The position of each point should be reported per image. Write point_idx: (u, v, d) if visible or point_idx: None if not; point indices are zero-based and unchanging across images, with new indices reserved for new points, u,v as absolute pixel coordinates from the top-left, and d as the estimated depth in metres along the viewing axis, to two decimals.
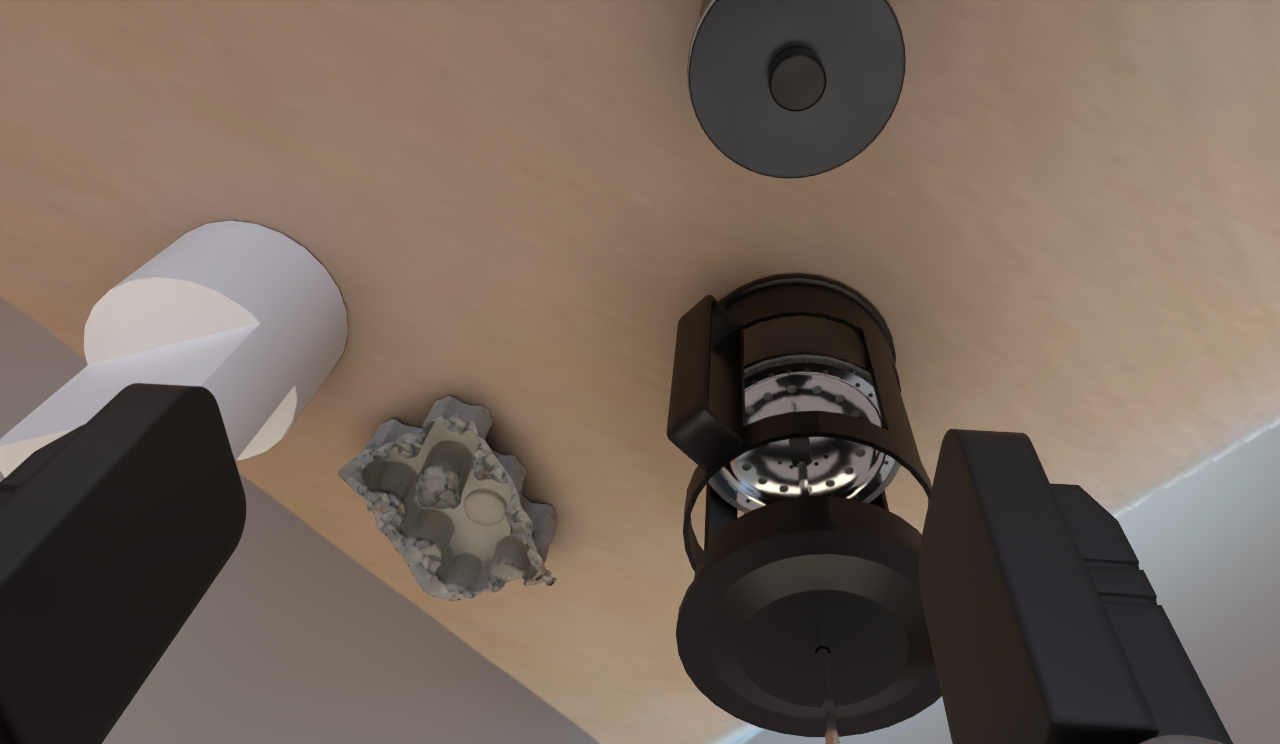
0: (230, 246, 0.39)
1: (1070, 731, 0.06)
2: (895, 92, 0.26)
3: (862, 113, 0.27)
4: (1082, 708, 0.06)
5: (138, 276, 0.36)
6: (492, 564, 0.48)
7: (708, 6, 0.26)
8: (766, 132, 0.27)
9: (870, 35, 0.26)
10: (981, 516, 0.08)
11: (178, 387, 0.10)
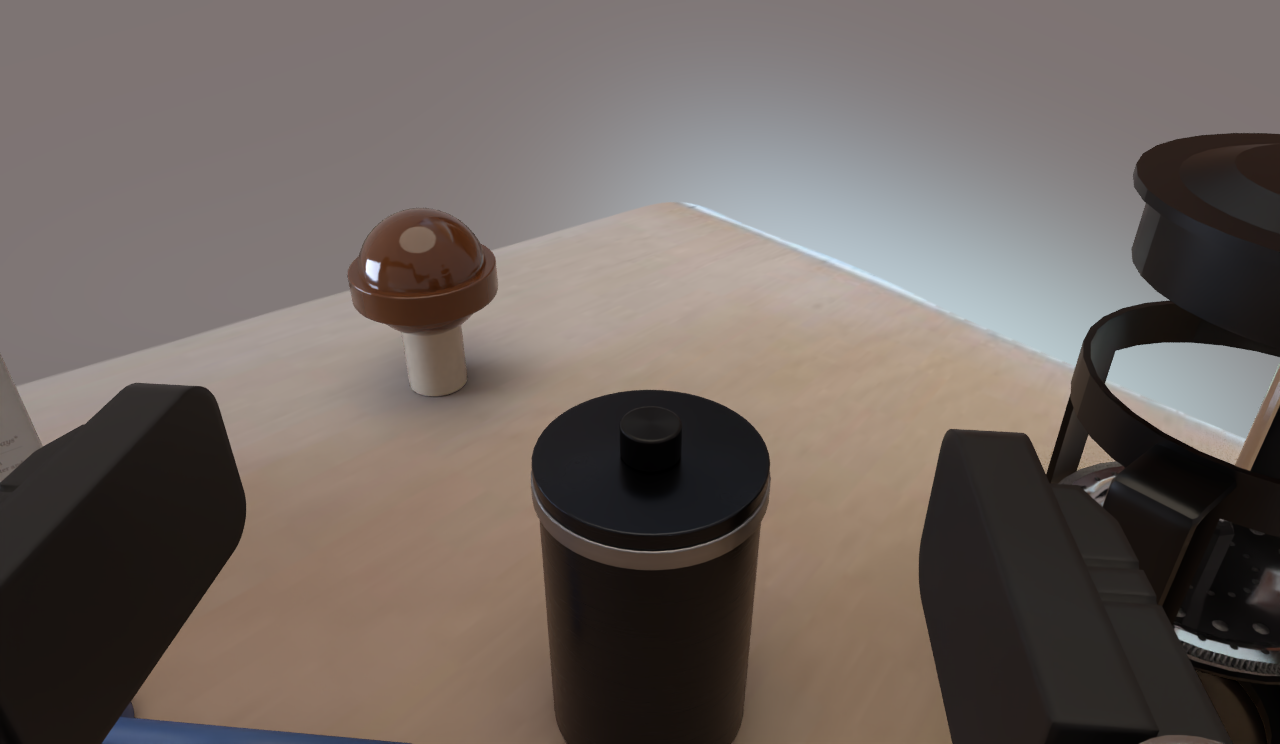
0: None
1: (1070, 731, 0.06)
2: (676, 393, 0.26)
3: (696, 412, 0.25)
4: (1082, 708, 0.06)
5: None
6: None
7: (566, 531, 0.22)
8: (713, 476, 0.23)
9: (618, 408, 0.26)
10: (982, 516, 0.08)
11: (178, 387, 0.10)
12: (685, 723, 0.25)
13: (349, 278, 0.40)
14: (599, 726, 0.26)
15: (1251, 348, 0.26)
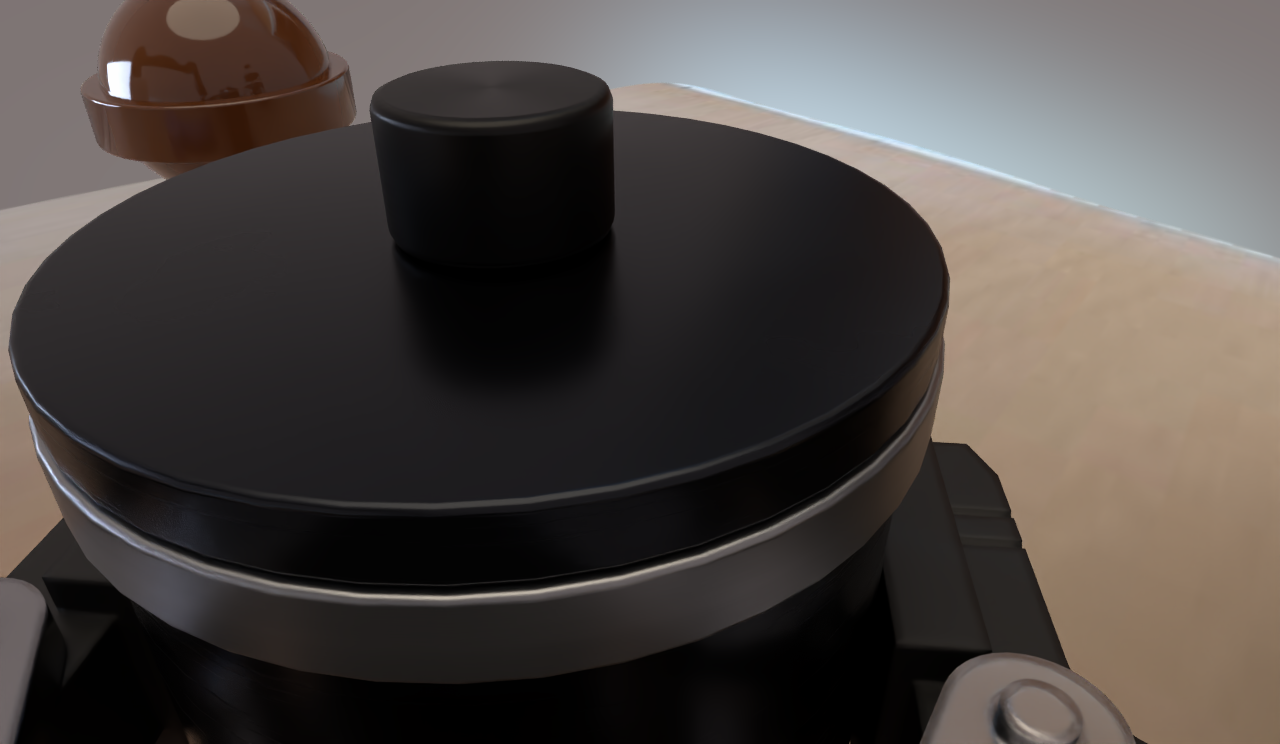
0: None
1: (913, 652, 0.07)
2: (620, 113, 0.09)
3: (675, 143, 0.08)
4: (925, 631, 0.07)
5: None
6: None
7: (72, 500, 0.05)
8: (733, 285, 0.06)
9: None
10: None
11: None
12: None
13: (82, 86, 0.23)
14: None
15: None
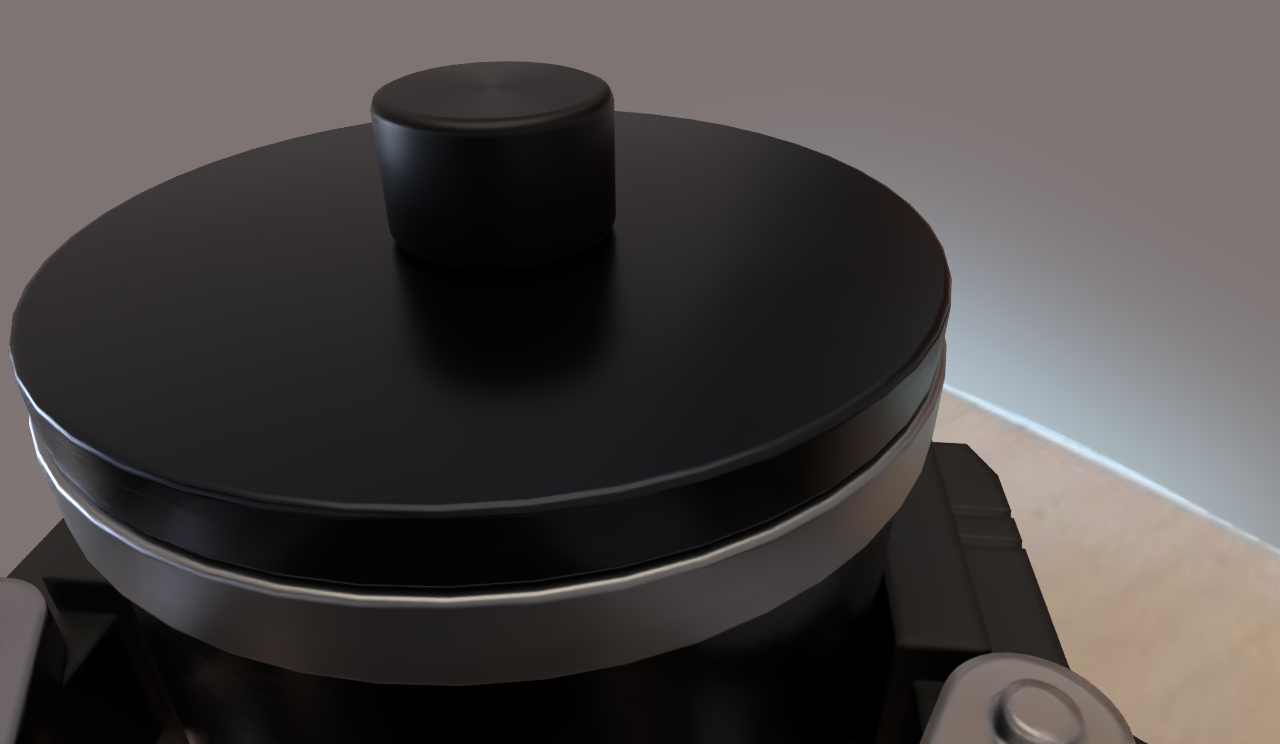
0: None
1: (913, 652, 0.07)
2: (620, 113, 0.09)
3: (676, 144, 0.08)
4: (925, 632, 0.07)
5: None
6: None
7: (72, 502, 0.05)
8: (735, 286, 0.06)
9: None
10: None
11: None
12: None
13: None
14: None
15: None
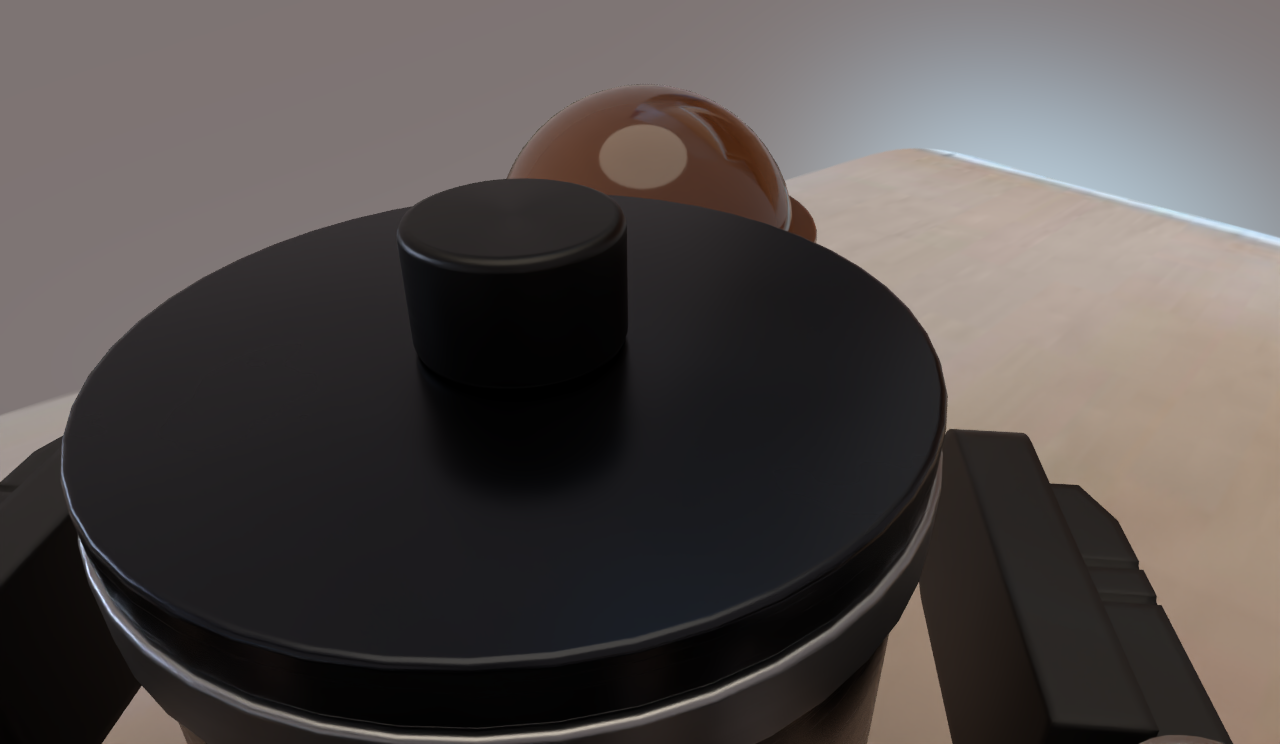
0: None
1: (1070, 731, 0.06)
2: (630, 199, 0.09)
3: (684, 236, 0.08)
4: (1082, 708, 0.06)
5: None
6: None
7: (124, 630, 0.05)
8: (742, 406, 0.06)
9: None
10: (981, 516, 0.08)
11: None
12: None
13: None
14: None
15: None
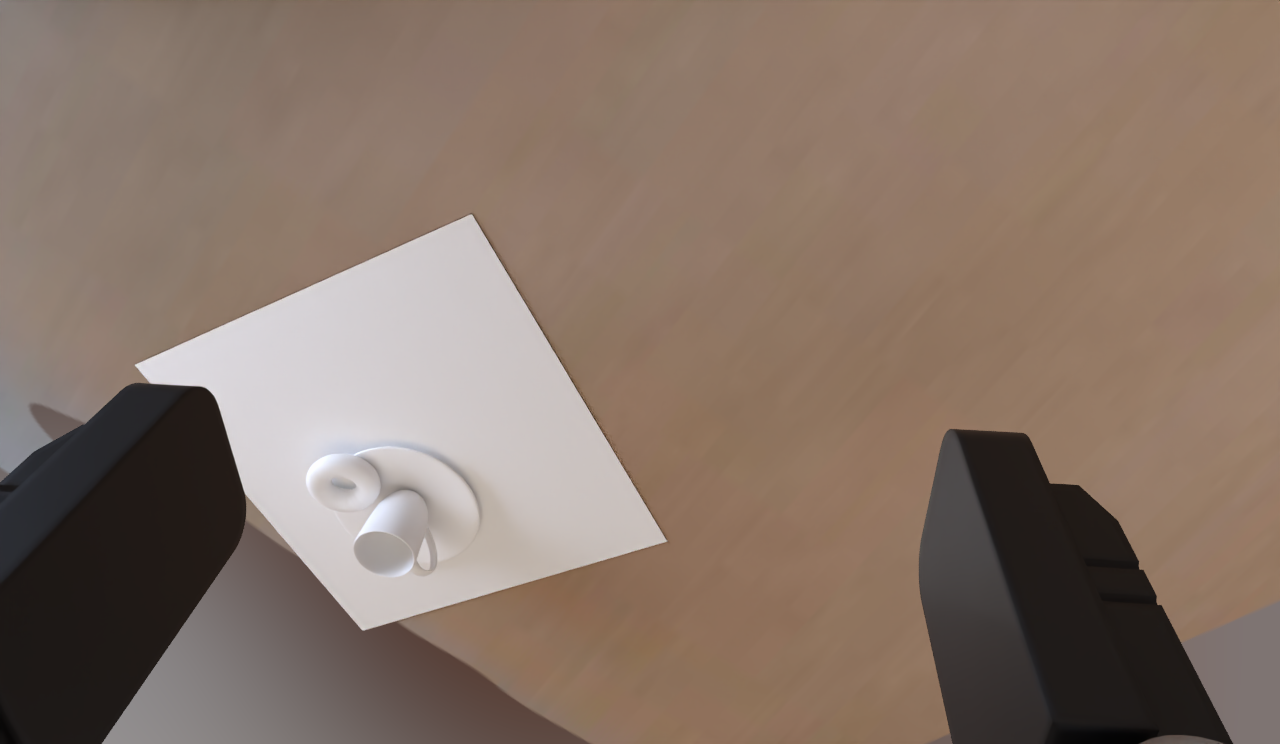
0: None
1: (1071, 731, 0.06)
2: None
3: None
4: (1083, 708, 0.06)
5: None
6: None
7: None
8: None
9: None
10: (981, 516, 0.08)
11: (178, 387, 0.10)
12: None
13: None
14: None
15: None
